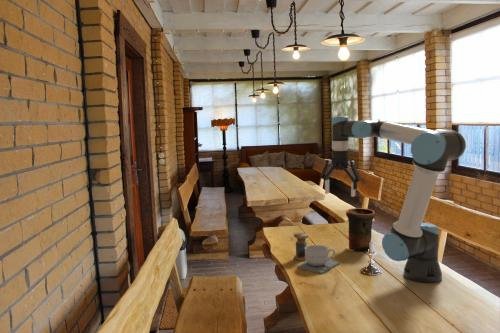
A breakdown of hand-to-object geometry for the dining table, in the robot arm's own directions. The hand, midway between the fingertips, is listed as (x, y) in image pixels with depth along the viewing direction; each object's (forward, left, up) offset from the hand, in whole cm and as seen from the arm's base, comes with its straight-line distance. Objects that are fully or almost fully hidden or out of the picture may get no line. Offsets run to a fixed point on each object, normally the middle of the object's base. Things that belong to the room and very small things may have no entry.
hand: (340, 194), depth 201 cm
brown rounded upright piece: (+16, +9, -32) cm, 37 cm away
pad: (+4, +13, -32) cm, 34 cm away
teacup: (+3, +13, -31) cm, 34 cm away
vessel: (0, -22, -32) cm, 39 cm away
